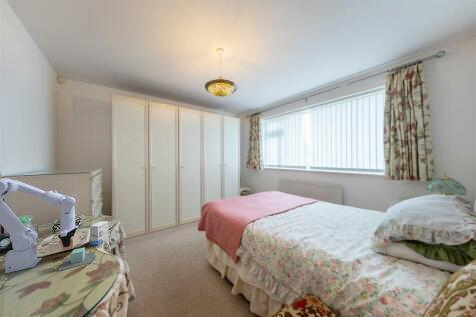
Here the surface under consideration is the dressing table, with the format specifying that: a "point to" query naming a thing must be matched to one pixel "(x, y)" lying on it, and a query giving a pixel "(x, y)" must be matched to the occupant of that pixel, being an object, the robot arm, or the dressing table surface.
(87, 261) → the mat
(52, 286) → the dressing table surface
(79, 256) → the teal brick
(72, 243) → the peach block
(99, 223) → the ink box
